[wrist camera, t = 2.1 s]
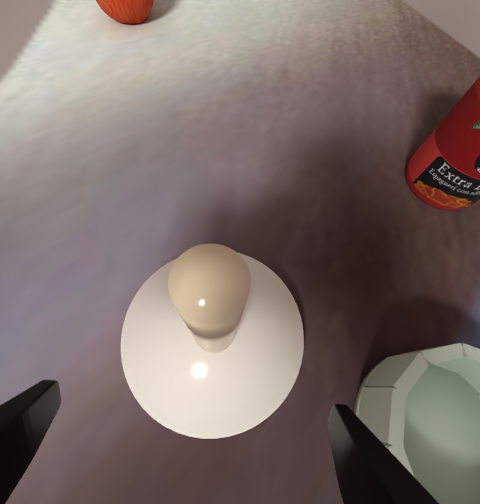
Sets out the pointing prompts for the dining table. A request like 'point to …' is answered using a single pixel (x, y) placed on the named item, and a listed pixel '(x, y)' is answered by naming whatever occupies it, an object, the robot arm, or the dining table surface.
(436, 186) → the canned food
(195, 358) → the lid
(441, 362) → the bowl
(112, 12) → the apple
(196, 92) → the dining table surface
